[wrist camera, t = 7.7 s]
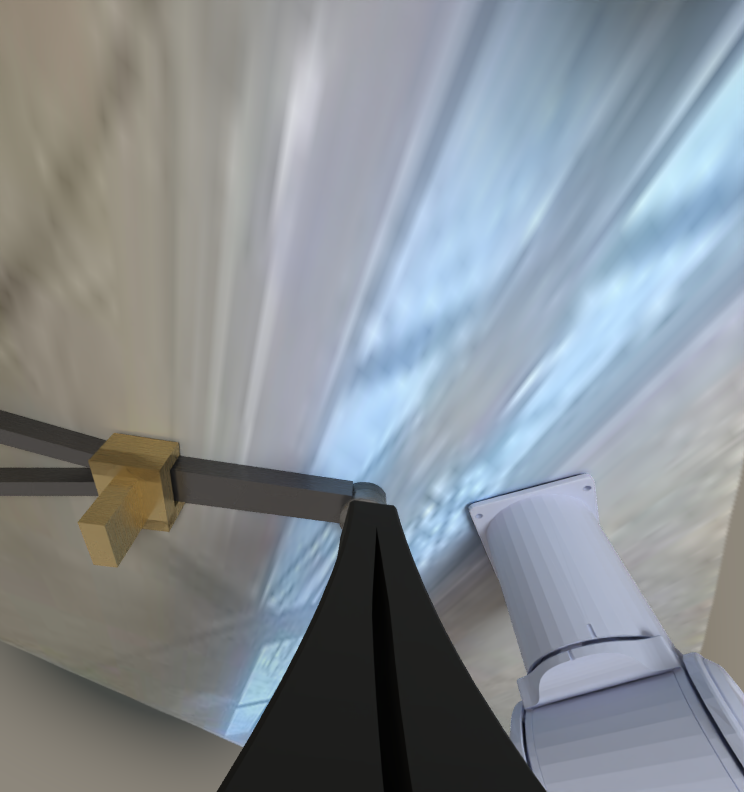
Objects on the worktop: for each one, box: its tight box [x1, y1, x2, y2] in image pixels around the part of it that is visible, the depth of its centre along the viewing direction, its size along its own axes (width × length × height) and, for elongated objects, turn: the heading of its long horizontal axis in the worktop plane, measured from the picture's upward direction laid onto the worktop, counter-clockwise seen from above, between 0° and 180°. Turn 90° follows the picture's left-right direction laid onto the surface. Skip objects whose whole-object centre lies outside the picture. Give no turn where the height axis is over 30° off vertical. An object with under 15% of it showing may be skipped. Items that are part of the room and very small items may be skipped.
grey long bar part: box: [0, 410, 386, 530], centre depth 22 cm, size 30×9×2 cm, turn 78°
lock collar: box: [78, 433, 185, 567], centre depth 20 cm, size 4×5×5 cm, turn 168°
